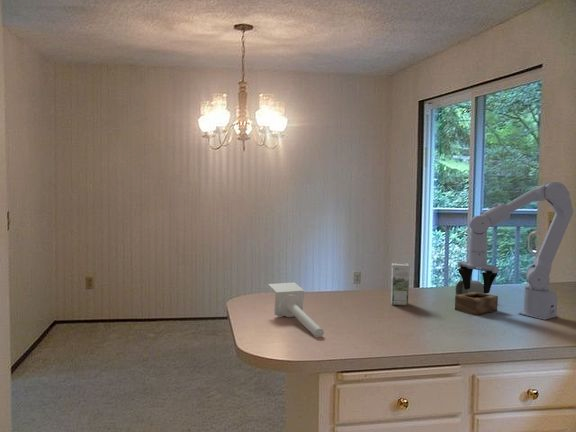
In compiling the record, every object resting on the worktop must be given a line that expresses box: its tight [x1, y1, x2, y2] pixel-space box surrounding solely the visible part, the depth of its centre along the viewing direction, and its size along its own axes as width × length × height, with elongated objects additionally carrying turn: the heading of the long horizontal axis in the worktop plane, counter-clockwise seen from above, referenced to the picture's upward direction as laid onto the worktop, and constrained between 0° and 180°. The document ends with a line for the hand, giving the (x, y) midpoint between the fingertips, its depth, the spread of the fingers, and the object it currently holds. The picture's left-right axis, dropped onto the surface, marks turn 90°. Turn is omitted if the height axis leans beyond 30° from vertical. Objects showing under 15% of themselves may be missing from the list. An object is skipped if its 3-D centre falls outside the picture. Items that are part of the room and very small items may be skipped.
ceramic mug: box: [454, 279, 486, 295], centre depth 204 cm, size 11×8×8 cm
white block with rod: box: [267, 282, 325, 338], centre depth 169 cm, size 9×9×32 cm
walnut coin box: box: [454, 292, 499, 316], centre depth 188 cm, size 11×9×5 cm
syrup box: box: [390, 262, 410, 307], centre depth 195 cm, size 6×6×14 cm
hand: (476, 291), depth 187 cm, fingers open, 7 cm apart
